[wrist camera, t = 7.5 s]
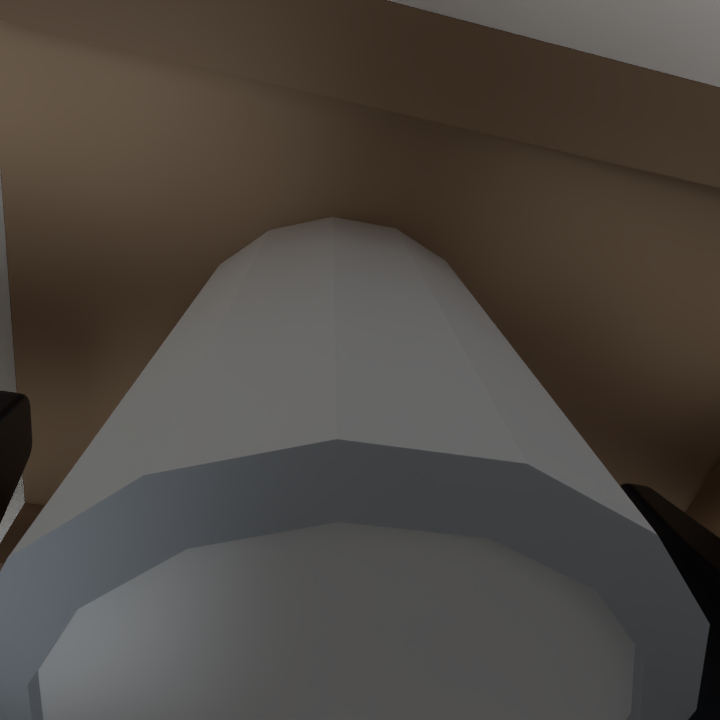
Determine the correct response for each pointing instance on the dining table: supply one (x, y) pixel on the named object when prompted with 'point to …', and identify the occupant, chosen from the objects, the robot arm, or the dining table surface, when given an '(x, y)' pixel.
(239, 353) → the shot glass
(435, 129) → the tray
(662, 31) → the dining table surface
